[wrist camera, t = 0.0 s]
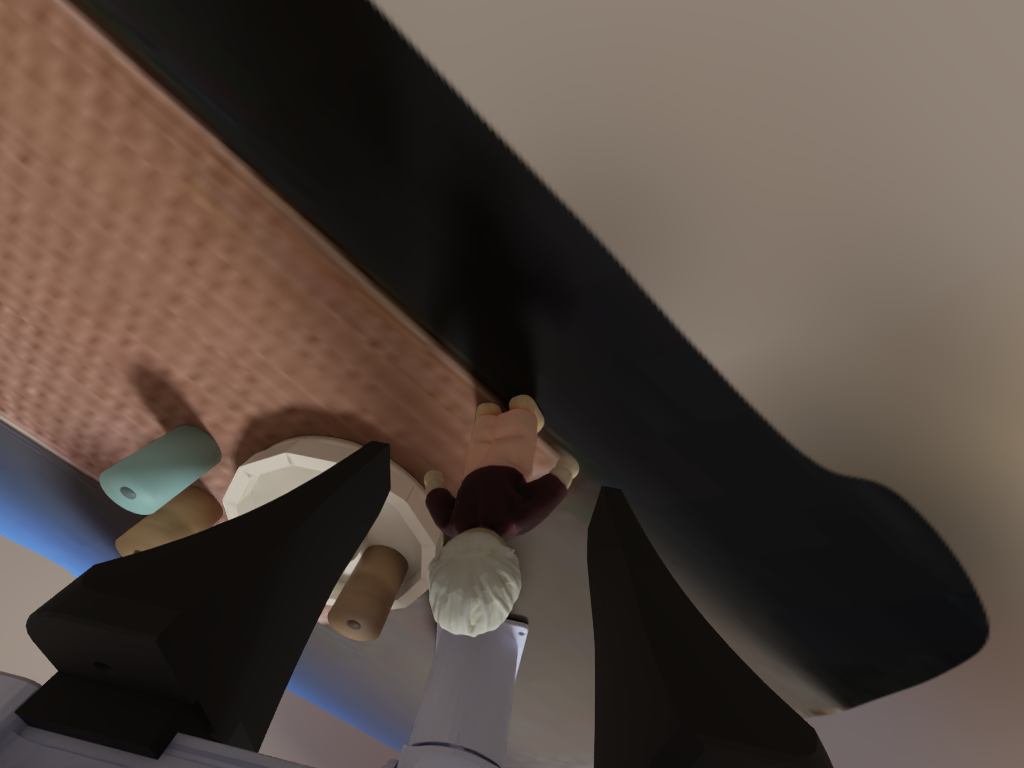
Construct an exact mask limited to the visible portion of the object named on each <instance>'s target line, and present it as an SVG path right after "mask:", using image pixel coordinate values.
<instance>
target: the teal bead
mask: <svg viewBox="0 0 1024 768" xmlns="http://www.w3.org/2000/svg"><path fill="white" fill-rule="evenodd" d="M220 460H221V450H220V448H219V446H218V444H217V443H216V442H215V440H214V439H213V438H212V437H211V436H210V435H208V434H207V433H206V432H204V431H203V430H201V429H199V428H197V427H194V426H189V425H182V426H179V427H177V428H175V429H173V430H172V431H170V432H168V433H167V434H165V435H163V436H162V437H160V438H158V439H157V440H155V441H153V442H152V443H150V444H148V445H147V446H145V447H143V448H142V449H140V450H138V451H137V452H135V453H133V454H132V455H130V456H128V457H127V458H125V459H123V460H121V461H120V462H118V463H116V464H115V465H113V466H111V467H110V468H108V469H106V470H105V471H103V472H102V473H101V474H100V476H99V482H100V485H101V487H102V489H103V490H104V492H105V493H106V494H107V496H108V497H109V498H110V499H112V500H113V501H114V502H115V503H116V504H118V505H119V506H121V507H122V508H124V509H126V510H128V511H131V512H133V513H136V514H141V515H149V514H152V513H154V512H155V511H157V510H158V509H159V508H161V507H162V506H163V505H165V504H166V503H167V502H168V501H170V500H171V499H172V498H174V497H175V496H176V495H178V494H179V493H180V492H182V491H183V490H184V489H185V488H187V487H188V486H189V485H191V484H192V483H193V482H195V481H196V480H197V479H198V478H200V477H201V476H202V475H204V474H205V473H206V472H208V471H209V470H210V469H211V468H213V467H214V466H215V465H217V464H218V463H219V462H220Z"/></svg>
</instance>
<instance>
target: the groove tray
mask: <svg viewBox="0 0 1024 768" xmlns="http://www.w3.org/2000/svg"><path fill="white" fill-rule="evenodd" d="M361 447H363V445H360V444H357V443H354V442H352V441H348V440H344V439H340V438H334V437H327V436H299V437H294V438H290V439H285V440H283V441H281V442H278V443H276V444H274V445H272V446H271V447H269V448H268V449H266V450H264V451H261V452H258V453H255V454H254V455H253V456H252V457H251V458H249V459H248V460H247V461H246V462H245V463H243V464H242V465H241V466H240V467H239V468H238V470H237V472H236V474H235V476H234V478H233V480H232V482H231V484H230V486H229V488H228V490H227V492H226V494H225V496H224V498H223V505H224V508H225V511H226V514H227V517H228V520H230V519H233V518H235V517H237V516H240V515H242V514H245V513H247V512H249V511H251V510H254V509H256V508H258V507H260V506H262V505H264V504H266V503H268V502H270V501H272V500H274V499H276V498H278V497H280V496H282V495H284V494H286V493H288V492H290V491H291V490H293V489H295V488H297V487H298V486H300V485H302V484H304V483H305V482H307V481H309V480H311V479H312V478H314V477H316V476H318V475H319V474H321V473H322V472H324V471H326V470H327V469H329V468H330V467H332V466H334V465H335V464H337V463H338V462H340V461H341V460H343V459H344V458H346V457H348V456H349V455H351V454H352V453H354V452H355V451H357V450H358V449H360V448H361ZM390 474H391V490H390V492H389V495H388V497H387V499H386V501H385V503H384V506H383V508H382V510H381V512H380V514H379V516H378V518H377V519H376V521H375V523H374V524H373V526H372V527H371V529H370V531H369V532H368V534H367V536H366V537H365V539H364V540H363V542H362V544H361V545H360V547H359V548H358V550H357V551H356V553H355V555H354V556H353V558H352V559H351V561H350V563H349V564H348V566H347V567H346V569H345V571H344V572H343V574H342V575H341V577H340V579H339V580H338V582H337V584H336V586H335V587H334V589H333V591H332V593H331V595H330V597H329V599H328V601H327V603H326V605H331V606H333V605H334V603H335V601H336V599H337V598H338V596H339V594H340V592H341V591H342V589H343V587H344V585H345V584H346V582H347V580H348V578H349V577H350V575H351V573H352V572H353V570H354V568H355V566H356V565H357V563H358V561H359V559H360V558H361V556H362V554H363V552H364V551H365V549H367V548H368V547H370V546H373V545H384V546H388V547H391V548H393V549H395V550H397V551H398V552H400V553H401V554H402V555H403V556H404V557H405V558H406V560H407V562H408V571H407V573H406V575H405V577H404V580H403V582H402V584H401V587H400V589H399V591H398V594H397V596H396V598H395V601H394V603H393V605H392V608H391V609H398V608H406V607H408V606H409V605H410V604H411V603H412V602H413V601H415V600H416V599H417V598H418V597H419V596H421V595H422V594H423V593H424V592H425V591H426V590H428V589H429V587H428V577H427V569H428V567H429V564H430V562H431V560H432V559H433V558H434V557H435V554H436V553H437V552H438V551H440V550H441V549H442V547H443V544H444V533H443V532H442V531H441V530H440V529H439V528H438V527H437V526H436V525H435V523H434V521H433V519H432V517H431V515H430V513H429V511H428V509H427V507H426V503H425V500H426V493H425V489H424V488H423V487H422V486H421V484H420V483H419V482H418V481H417V480H416V479H415V478H414V477H413V476H412V475H410V474H409V473H408V472H407V471H406V470H405V469H403V468H402V467H401V466H399V465H398V464H397V463H395V462H394V461H392V460H391V459H390Z"/></svg>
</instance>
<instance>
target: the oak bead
mask: <svg viewBox="0 0 1024 768" xmlns="http://www.w3.org/2000/svg"><path fill="white" fill-rule="evenodd" d="M222 515H223V510H222V507H221V505H220V504H219V502H218V501H217V500H216V499H215V498H214V497H213V496H212V495H210V494H209V493H207V492H206V491H204V490H201V489H199V488H195V487H187V488H185V489H184V490H183V491H182V492H180V493H179V494H178V495H176V496H175V497H174V498H172V499H171V500H170V501H168V502H167V503H166V504H165V505H163V506H162V507H161V508H159V509H158V510H157V511H155V512H154V513H152V514H149V515H148V516H146V517H145V518H144V519H142V520H141V521H140V522H139V523H137V524H136V525H135V526H133V527H132V528H131V529H129V530H128V531H127V532H125V533H124V534H123V535H121V536H120V537H119V538H118V539H117V540H116V541H115V546H116V548H117V550H118V552H119V553H120V555H121V556H122V557H124V556H127V555H131V554H134V553H137V552H141V551H144V550H148V549H151V548H154V547H157V546H160V545H163V544H166V543H169V542H172V541H175V540H178V539H181V538H184V537H187V536H190V535H192V534H195V533H198V532H200V531H203V530H206V529H208V528H211V527H212V526H213V525H214V524H215V523H216V522H217V521H218V520H219V519H220V518H221V517H222Z"/></svg>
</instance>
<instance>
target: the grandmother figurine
mask: <svg viewBox="0 0 1024 768" xmlns="http://www.w3.org/2000/svg"><path fill="white" fill-rule="evenodd" d="M509 410H510V411H507V412H505V413H502V411H501V409H500V407H499V406H498V405H496V404H494V403H482V404H480V405H479V406H478V407H477V410H476V418H475V426H474V429H473V432H472V435H471V438H470V441H469V445H468V451H467V458H466V463H465V469H464V475H463V482H462V485H461V487H460V489H459V490H458V494H457V497H456V498H454V497H453V496H452V495H451V493H450V492H449V491H448V490H447V489H446V485H445V483H444V475H443V473H442V472H441V471H440V470H437V469H432V470H430V471H428V472H427V473H426V474H425V476H424V484H425V486H426V488H425V493H426V500H425V503H426V507H427V509H428V511H429V513H430V515H431V517H432V519H433V521H434V523H435V525H436V526H437V527H438V528H439V529H440V530H441V531H442V532H443V533H445V534H446V535H447V536H448V537H450V538H452V539H451V540H450V541H449V542H448V543H447V544H446V546H443V547H442V549H441V550H440V551H438V552H437V553H436V554H435V557H434V558H433V559H432V560H431V562H430V564H429V567H428V569H427V577H428V587H429V592H430V596H429V601H430V605H431V609H432V612H433V615H434V619H435V620H436V622H438V623H439V625H440V626H441V628H443V629H445V630H447V631H449V632H451V633H453V634H456V635H459V634H463V635H469V636H471V637H476V636H477V635H478V634H483V633H485V632H488V631H493V630H495V629H497V628H498V627H499V626H500V624H502V623H503V622H504V621H505V619H506V618H507V617H508V615H509V613H510V612H511V610H512V607H513V604H514V602H515V601H516V600H517V598H518V596H519V591H520V589H521V573H520V571H519V560H518V558H517V556H516V555H515V554H514V553H513V552H515V549H511V548H509V547H508V546H507V544H506V543H505V541H504V540H507V539H510V538H513V537H516V536H519V535H522V534H525V533H527V532H528V531H530V530H532V529H533V528H535V527H536V526H537V525H538V524H540V523H541V522H542V521H543V520H544V519H545V518H546V517H547V516H548V515H549V514H550V513H551V512H552V511H553V510H554V509H555V508H556V507H557V506H558V505H559V504H560V503H561V502H562V500H563V499H564V498H565V497H566V496H567V493H568V490H567V489H568V488H569V486H570V484H571V482H572V479H573V478H574V477H575V476H576V475H577V474H578V472H579V464H578V462H577V461H576V460H575V459H574V458H572V457H569V456H565V457H562V458H560V459H559V461H558V462H557V464H556V467H555V468H553V469H552V470H551V471H550V473H549V474H546V475H545V476H542V477H541V478H539V479H537V480H534V481H532V482H530V481H531V476H532V470H533V463H534V455H535V449H536V443H537V432H538V431H540V430H541V428H542V427H543V425H544V417H543V415H542V413H541V411H540V410H539V408H538V407H537V405H536V403H535V401H534V400H533V399H532V398H531V397H530V396H528V395H519V396H515V397H513V398H512V399H511V400H510V402H509Z"/></svg>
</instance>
